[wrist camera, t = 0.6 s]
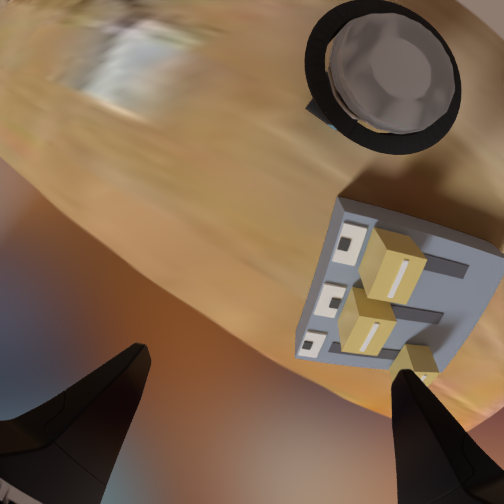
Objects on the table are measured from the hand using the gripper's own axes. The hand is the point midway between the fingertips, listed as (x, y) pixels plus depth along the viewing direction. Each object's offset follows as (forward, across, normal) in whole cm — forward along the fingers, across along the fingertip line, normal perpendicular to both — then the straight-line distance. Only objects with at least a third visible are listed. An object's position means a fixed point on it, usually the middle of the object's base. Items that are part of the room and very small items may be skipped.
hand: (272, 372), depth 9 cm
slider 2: (+8, -5, +3) cm, 10 cm away
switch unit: (+12, -9, +4) cm, 15 cm away
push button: (+12, -3, -10) cm, 16 cm away
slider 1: (+8, -6, -1) cm, 10 cm away
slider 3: (+8, -11, +8) cm, 16 cm away
